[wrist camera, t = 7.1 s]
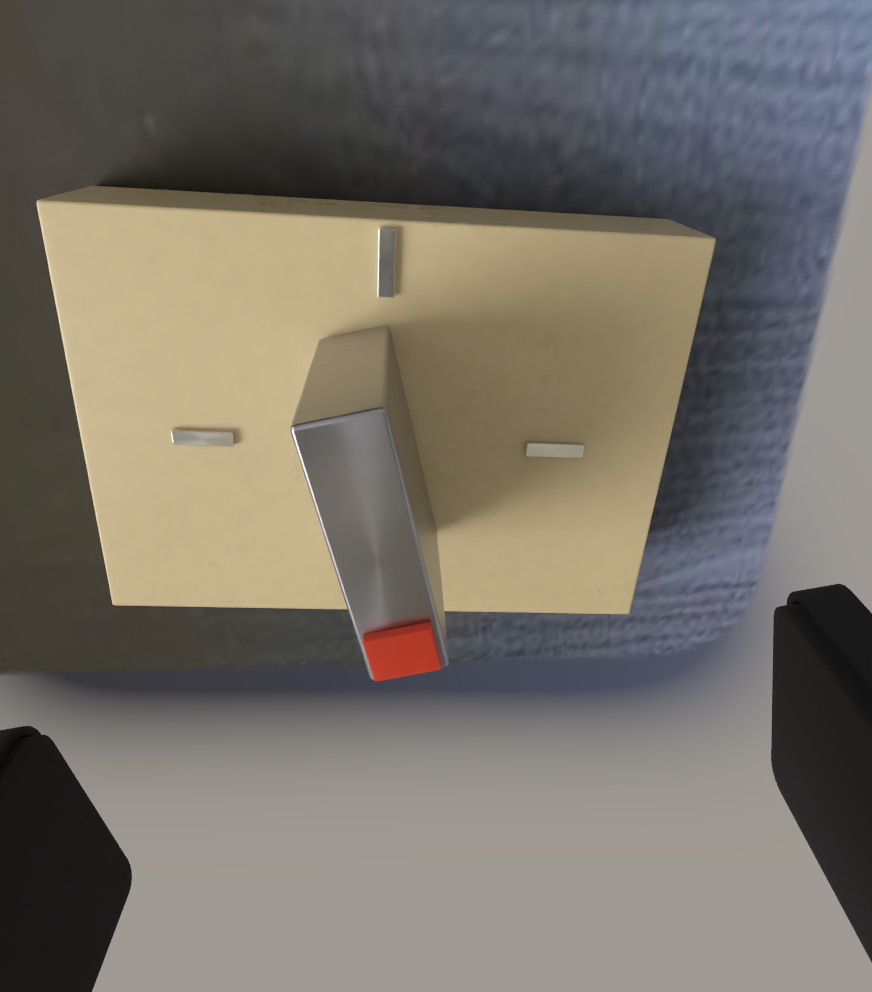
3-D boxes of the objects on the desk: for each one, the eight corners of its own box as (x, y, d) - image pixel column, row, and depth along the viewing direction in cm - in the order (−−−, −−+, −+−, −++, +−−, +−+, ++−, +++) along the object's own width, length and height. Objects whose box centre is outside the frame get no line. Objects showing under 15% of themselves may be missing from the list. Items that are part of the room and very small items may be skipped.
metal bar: (317, 338, 16) (285, 433, 11) (388, 323, 16) (386, 413, 11) (376, 545, 18) (369, 691, 14) (437, 533, 18) (451, 676, 14)
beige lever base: (670, 218, 18) (721, 239, 15) (602, 556, 23) (631, 619, 20) (90, 185, 17) (30, 200, 14) (146, 545, 22) (109, 610, 19)
